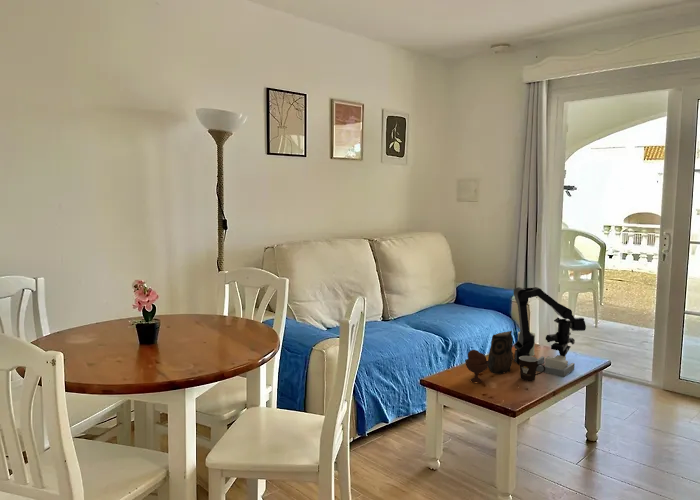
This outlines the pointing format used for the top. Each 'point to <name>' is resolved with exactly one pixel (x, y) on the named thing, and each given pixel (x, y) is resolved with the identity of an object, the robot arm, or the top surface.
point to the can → (533, 346)
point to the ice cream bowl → (476, 364)
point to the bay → (554, 370)
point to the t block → (556, 362)
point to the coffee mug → (528, 367)
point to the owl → (501, 353)
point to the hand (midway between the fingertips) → (562, 359)
